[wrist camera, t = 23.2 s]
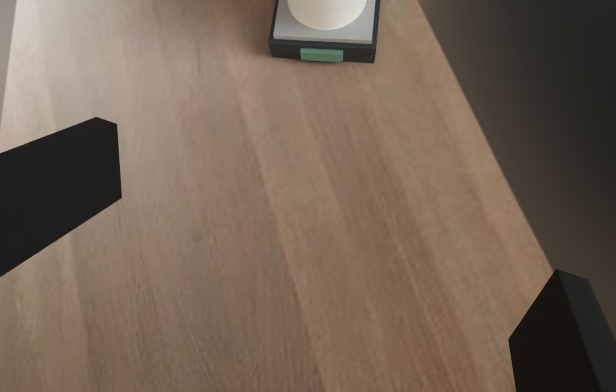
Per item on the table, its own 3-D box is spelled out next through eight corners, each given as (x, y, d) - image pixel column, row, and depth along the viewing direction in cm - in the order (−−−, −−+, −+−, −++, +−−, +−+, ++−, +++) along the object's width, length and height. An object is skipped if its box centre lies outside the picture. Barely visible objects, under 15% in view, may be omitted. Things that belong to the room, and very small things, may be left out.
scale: (381, -22, 45) (384, -45, 42) (373, 67, 42) (376, 49, 39) (285, -25, 46) (282, -48, 44) (271, 61, 43) (266, 43, 41)
